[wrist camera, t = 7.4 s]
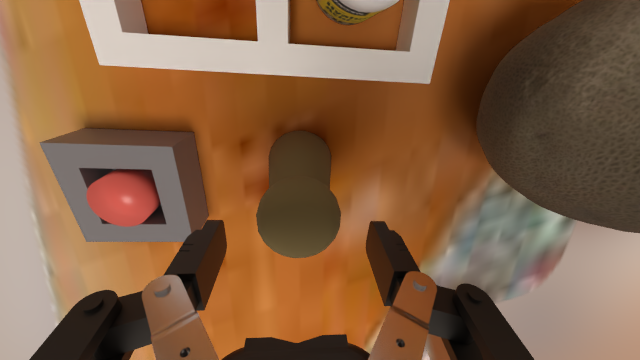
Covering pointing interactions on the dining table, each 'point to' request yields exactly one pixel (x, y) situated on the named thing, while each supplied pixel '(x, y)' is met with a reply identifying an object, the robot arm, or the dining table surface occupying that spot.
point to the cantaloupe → (571, 115)
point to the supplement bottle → (353, 9)
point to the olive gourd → (299, 197)
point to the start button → (124, 196)
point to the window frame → (266, 45)
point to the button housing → (132, 153)
